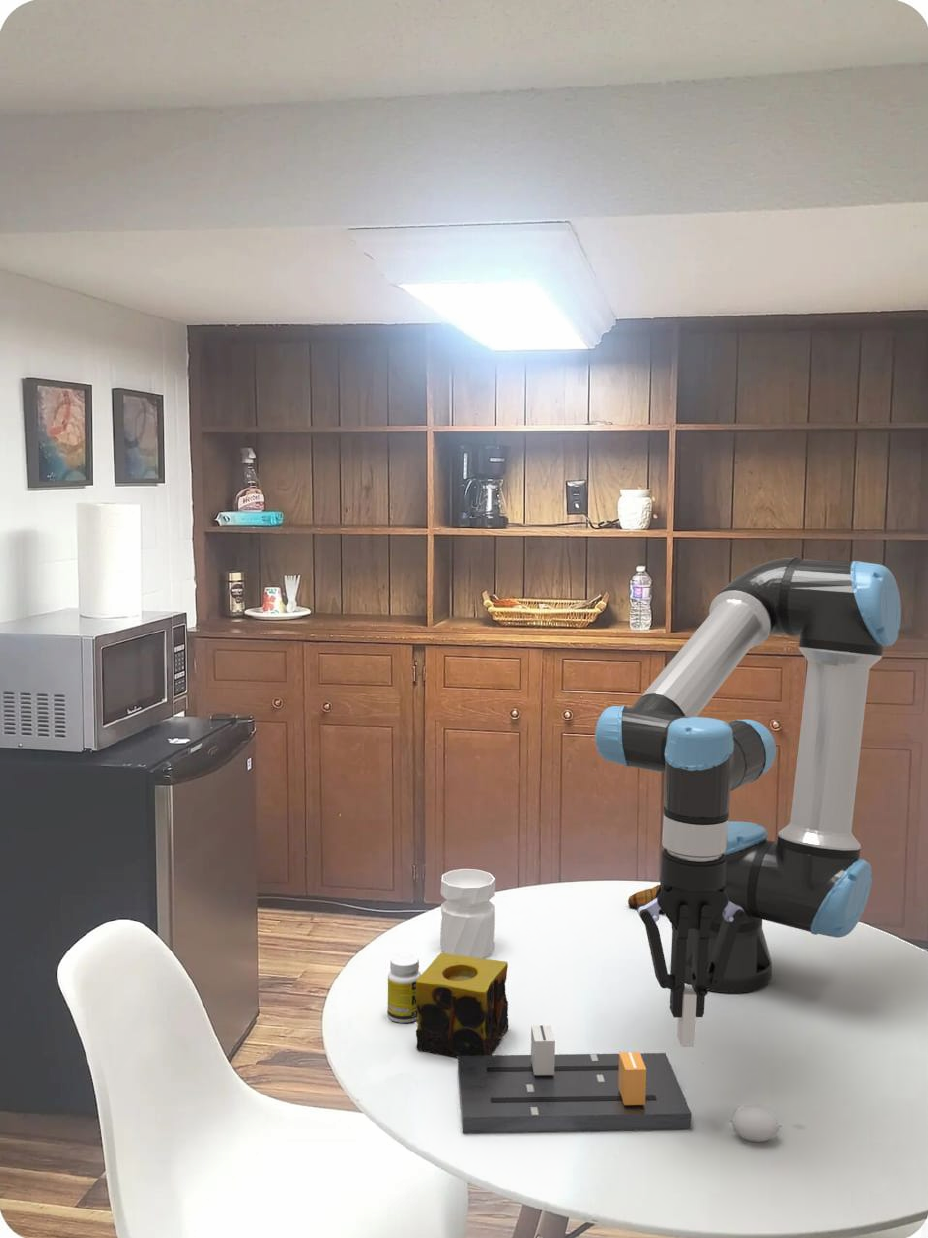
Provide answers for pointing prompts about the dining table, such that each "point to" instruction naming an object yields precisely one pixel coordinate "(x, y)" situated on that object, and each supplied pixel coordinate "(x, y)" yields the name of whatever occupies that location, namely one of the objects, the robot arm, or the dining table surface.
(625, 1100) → the fader
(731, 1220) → the dining table surface
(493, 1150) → the dining table surface
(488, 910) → the vase
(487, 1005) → the candle
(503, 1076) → the console
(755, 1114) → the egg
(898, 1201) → the dining table surface
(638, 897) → the croissant
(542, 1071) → the fader
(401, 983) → the supplement bottle
